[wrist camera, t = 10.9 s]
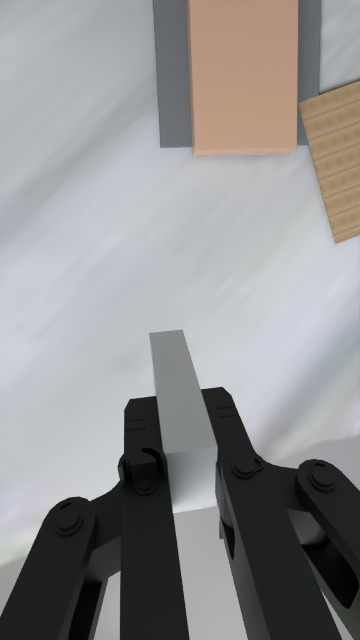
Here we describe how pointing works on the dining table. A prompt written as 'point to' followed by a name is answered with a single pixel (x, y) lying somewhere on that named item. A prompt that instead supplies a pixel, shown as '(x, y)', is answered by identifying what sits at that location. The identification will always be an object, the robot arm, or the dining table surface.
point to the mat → (176, 68)
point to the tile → (243, 76)
